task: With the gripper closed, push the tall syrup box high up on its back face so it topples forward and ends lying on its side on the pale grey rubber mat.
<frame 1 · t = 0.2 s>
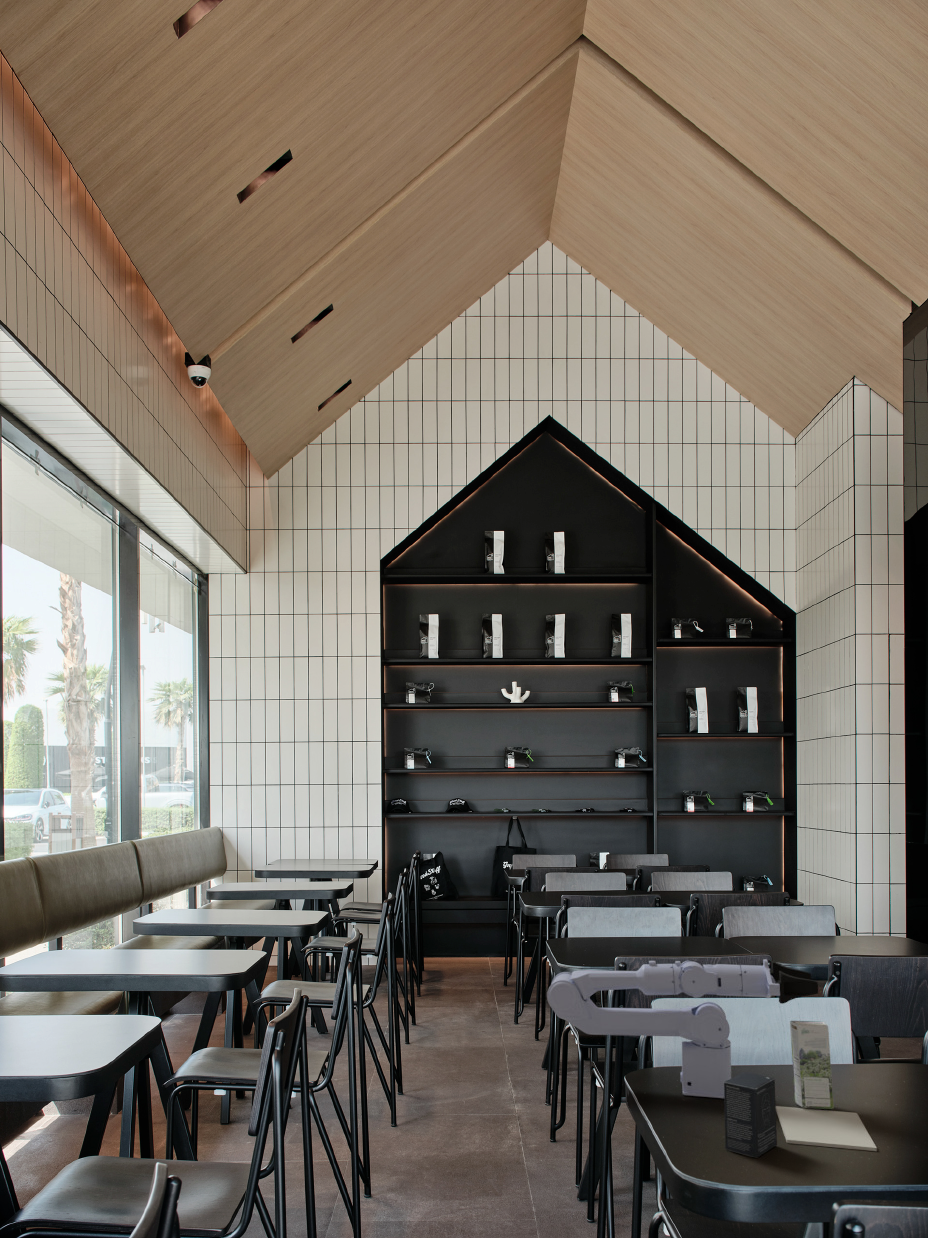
hand: (814, 983, 193), 21 cm above the table, tool horizontal, fingers open, 7 cm apart
box: (751, 1149, 164), on the table
mat: (823, 1129, 174), on the table
syrup box: (814, 1108, 185), on the table
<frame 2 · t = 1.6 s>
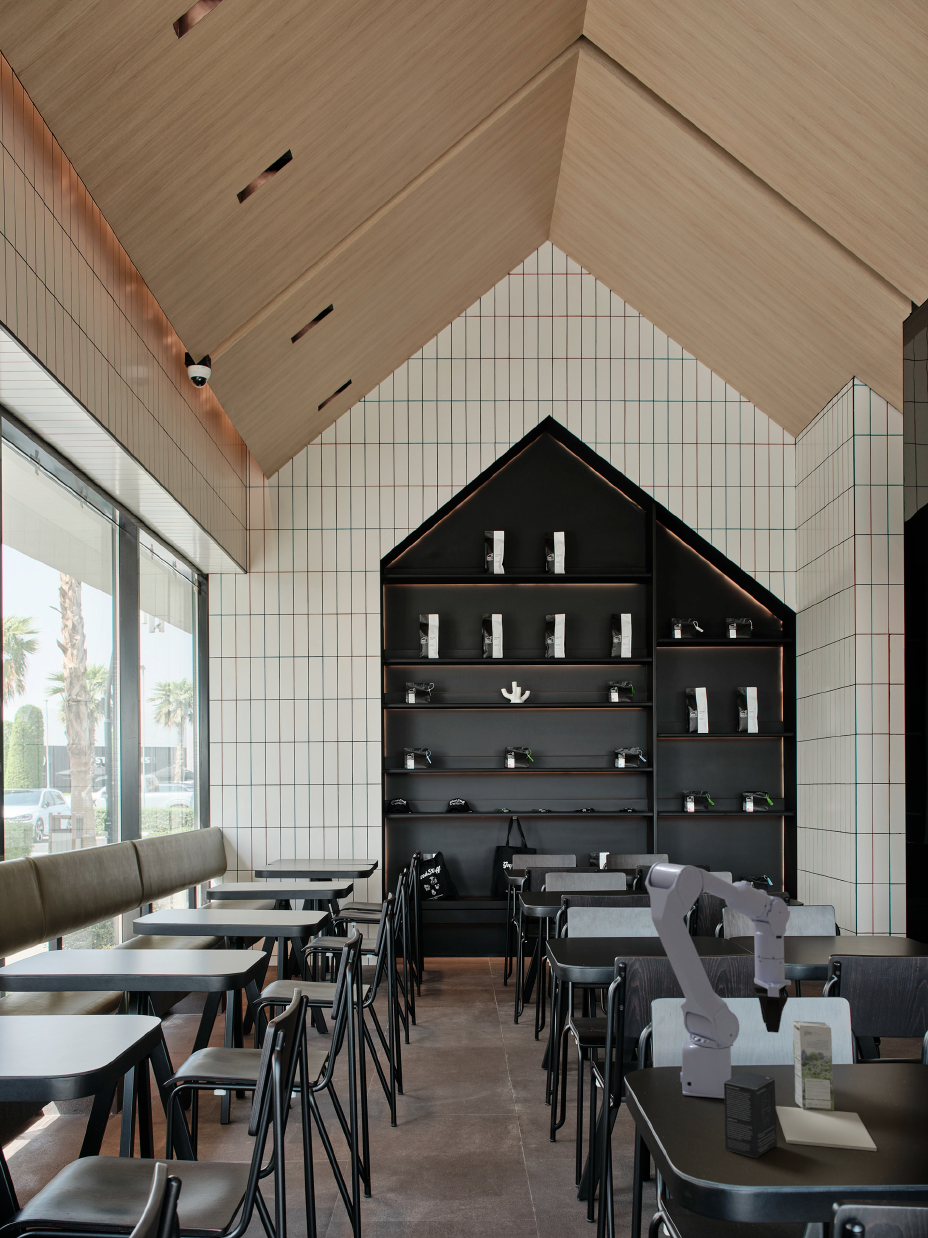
hand: (770, 1027, 202), 10 cm above the table, tool pointing down, fingers open, 7 cm apart
syrup box: (814, 1108, 184), on the table, touching mat
everything else where it was.
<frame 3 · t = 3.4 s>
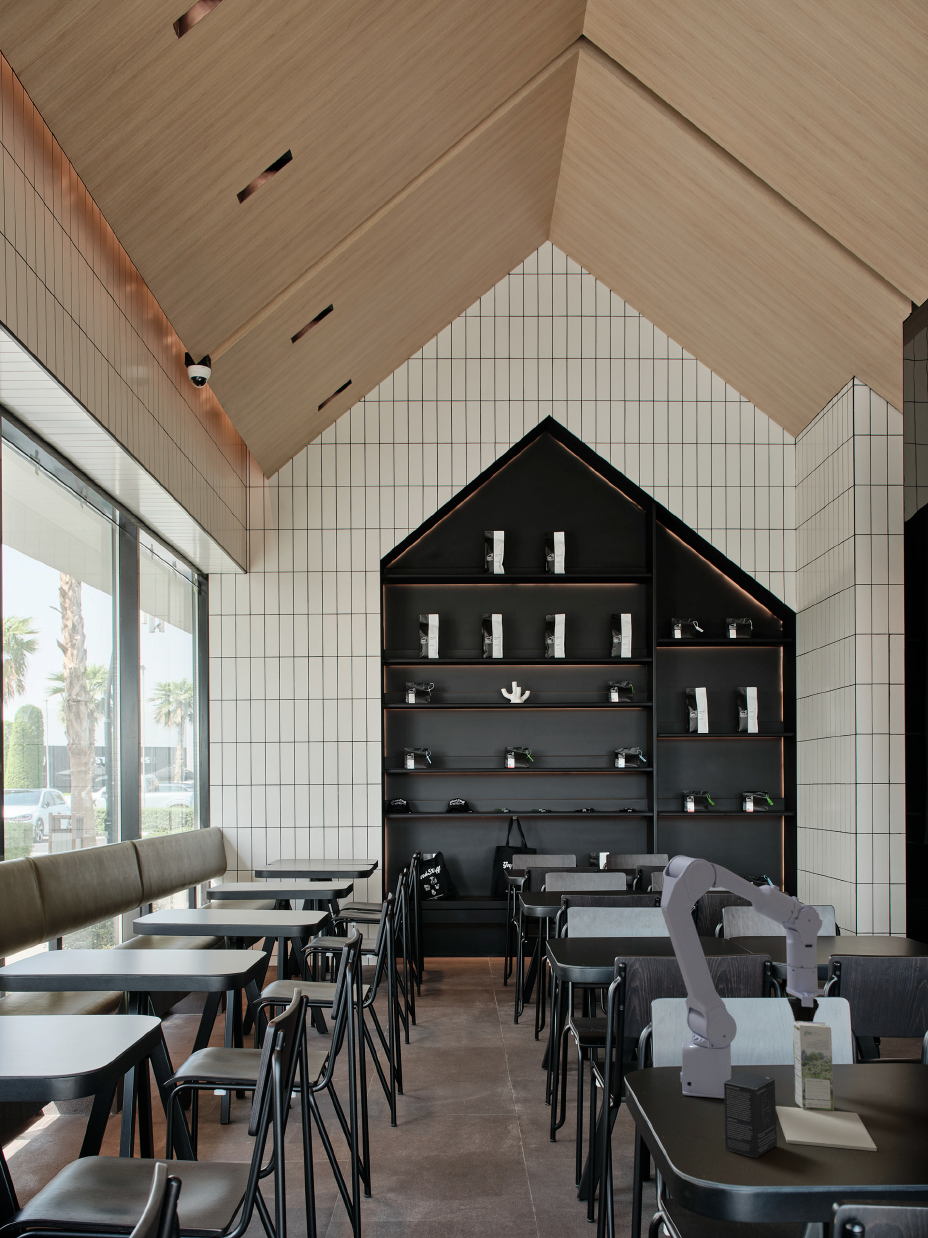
hand: (803, 1038, 198), 9 cm above the table, tool pointing down, fingers closed
nothing on the table moved.
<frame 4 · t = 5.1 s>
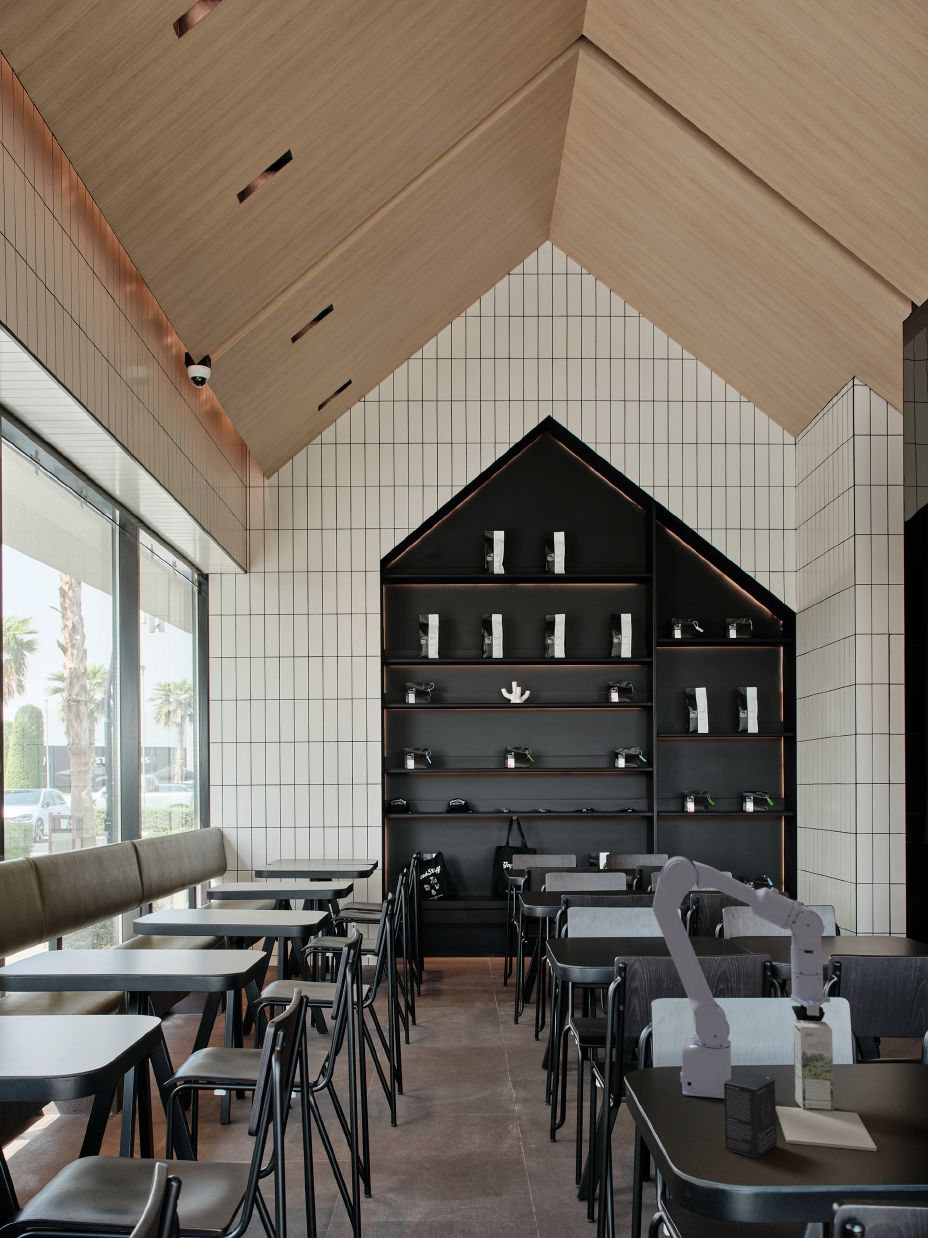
hand: (809, 1047, 191), 9 cm above the table, tool pointing down, fingers closed
syrup box: (814, 1107, 185), on the table, touching gripper, mat
everything else where it was.
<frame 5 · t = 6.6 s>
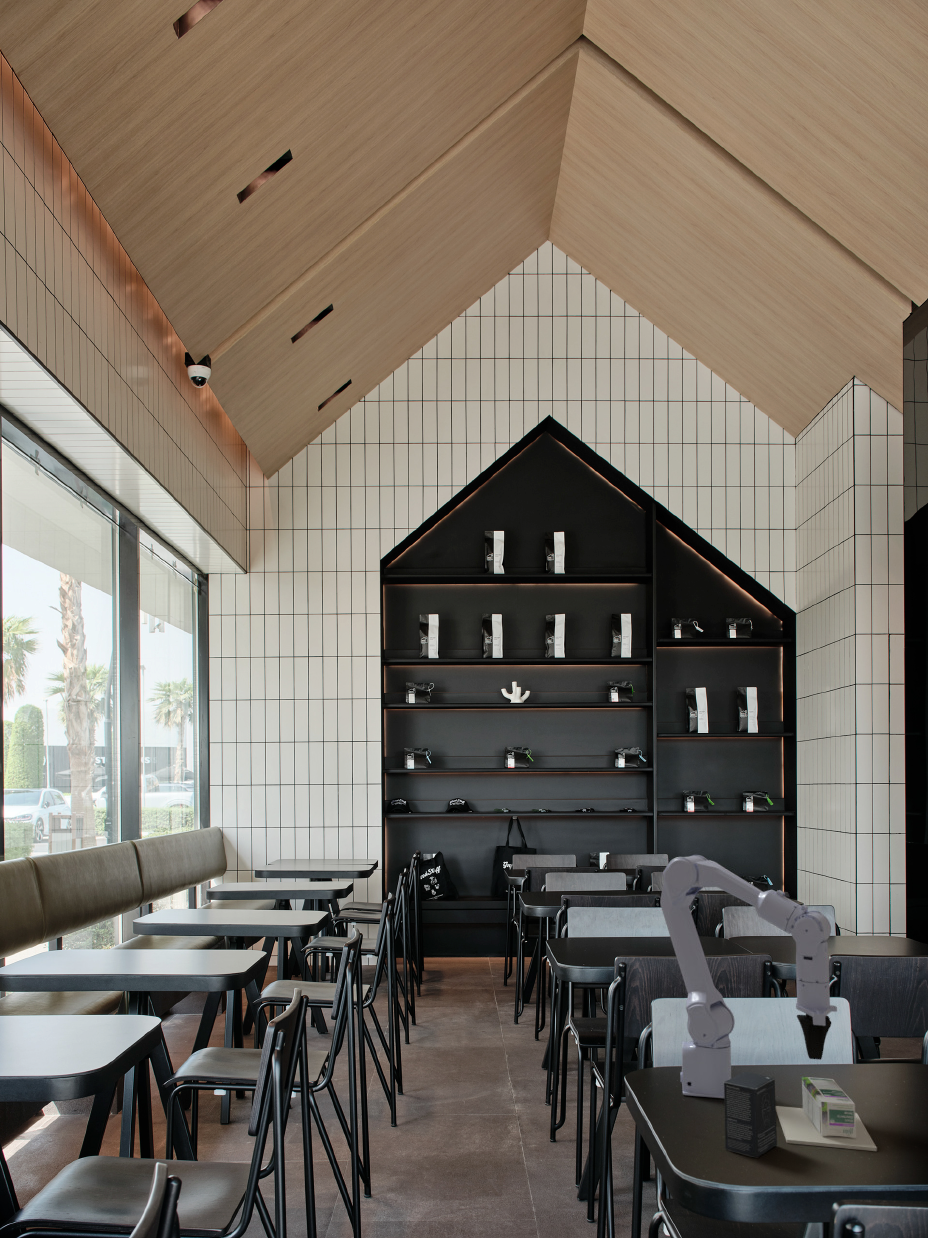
hand: (814, 1058, 183), 9 cm above the table, tool pointing down, fingers closed
syrup box: (817, 1094, 182), point 3 cm above the table, touching mat
everything else where it was.
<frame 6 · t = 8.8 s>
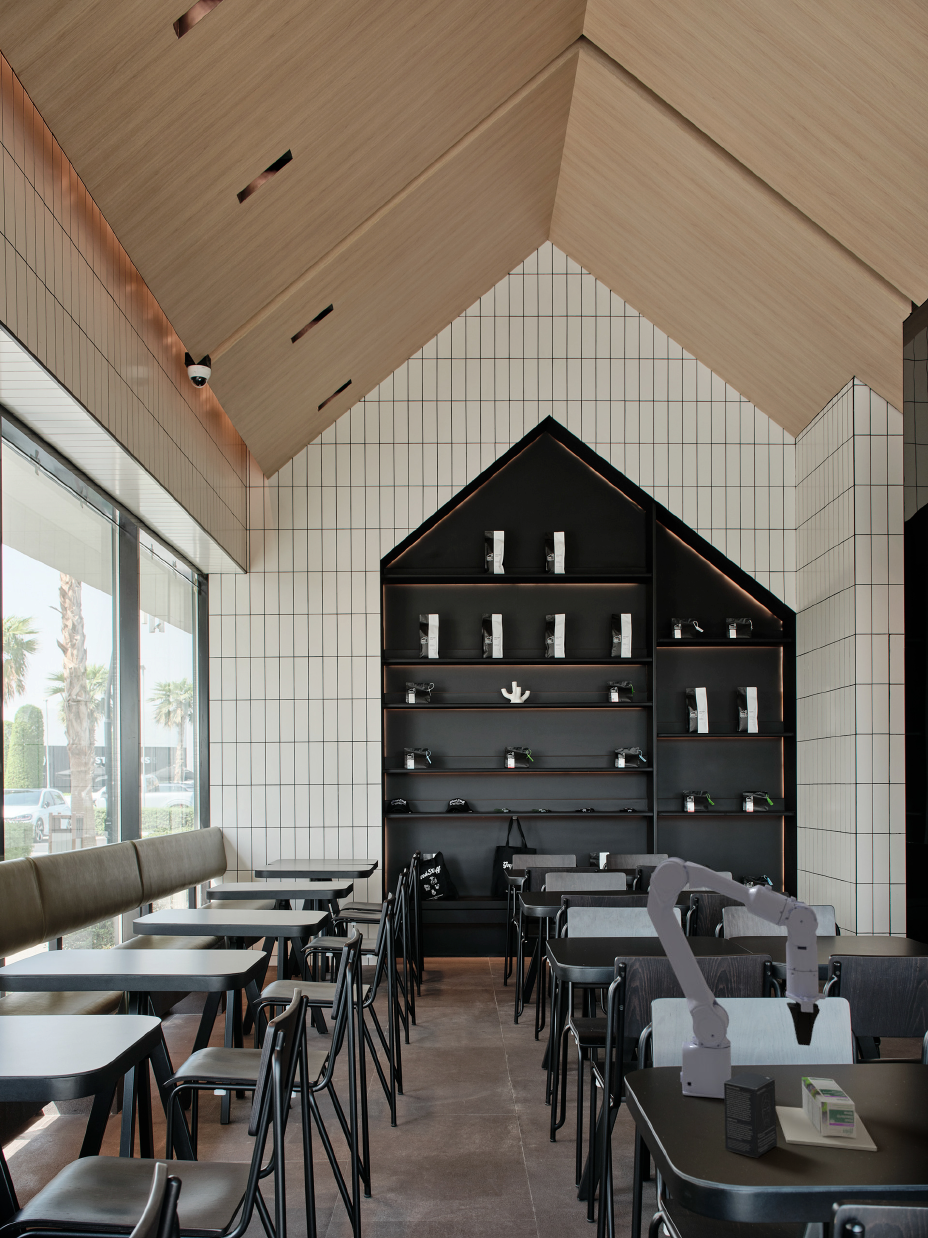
hand: (803, 1044, 189), 10 cm above the table, tool pointing down, fingers closed
nothing on the table moved.
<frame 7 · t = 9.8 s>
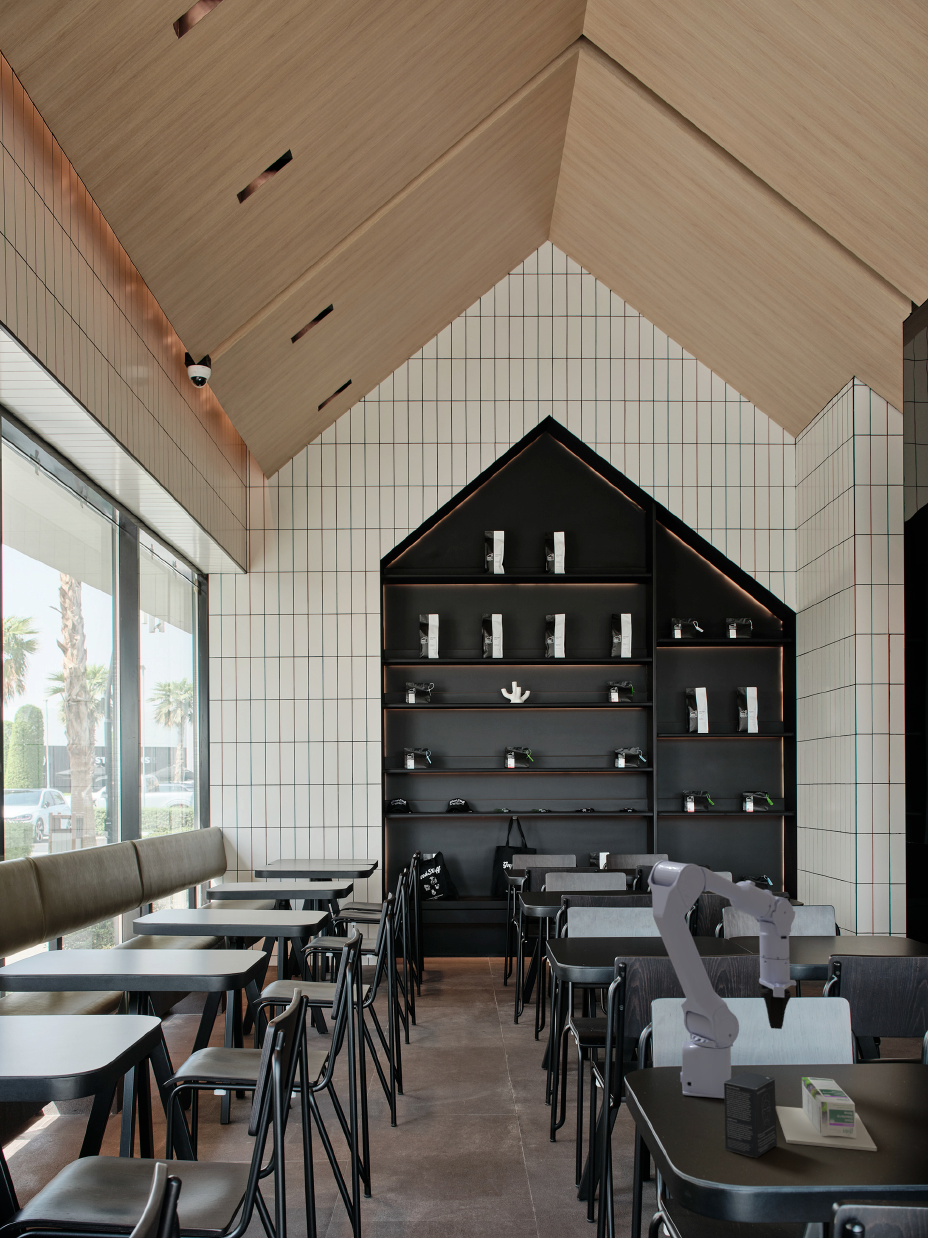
hand: (776, 1028, 202), 10 cm above the table, tool pointing down, fingers closed
nothing on the table moved.
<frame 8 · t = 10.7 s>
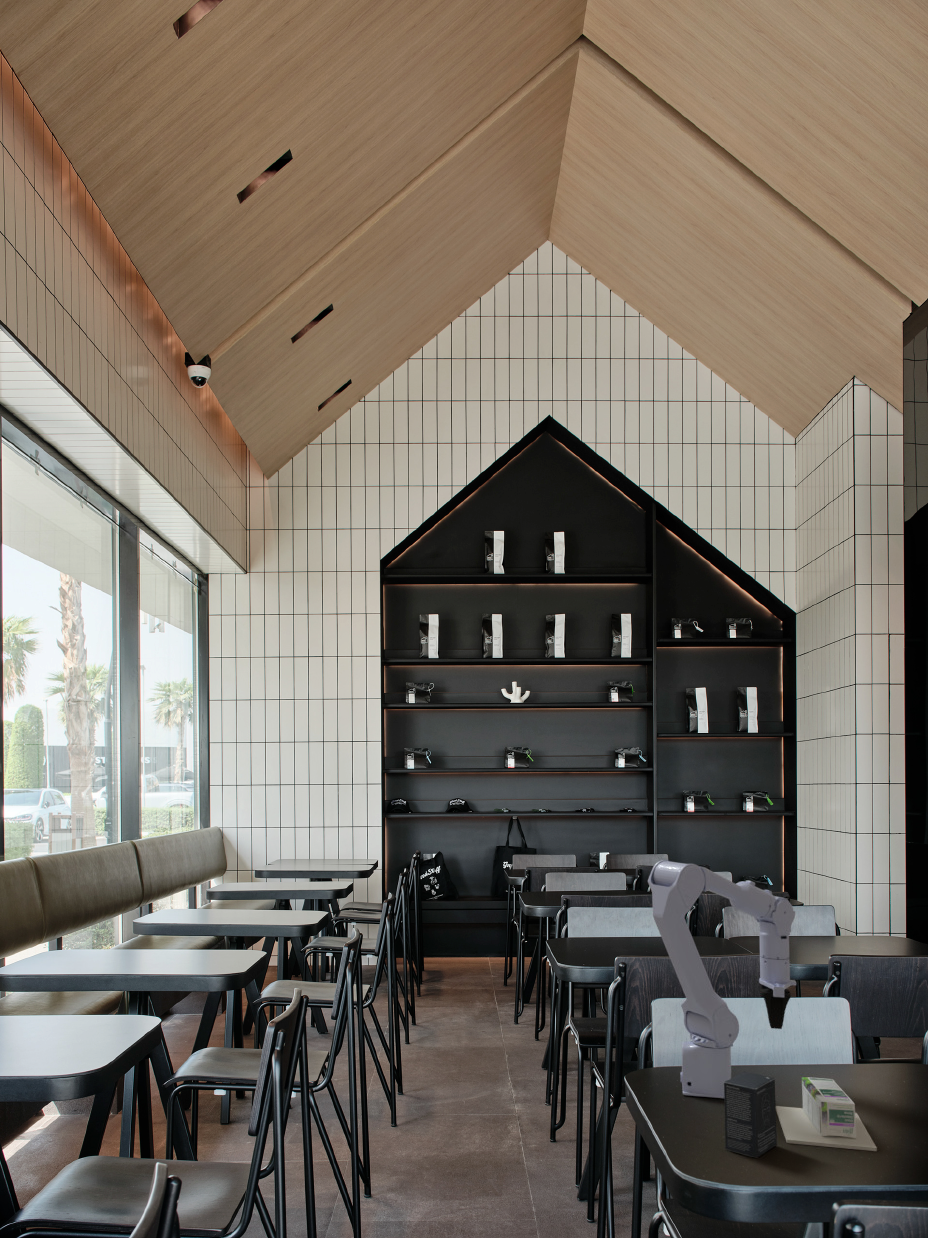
hand: (776, 1028, 202), 10 cm above the table, tool pointing down, fingers closed
nothing on the table moved.
at the end: syrup box tilted 89°; syrup box touching mat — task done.
